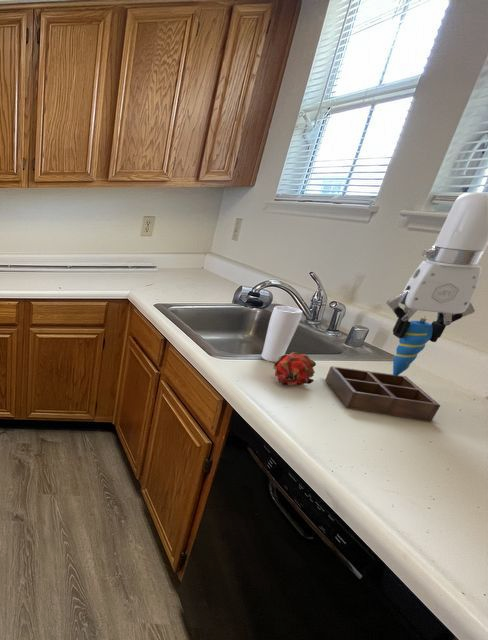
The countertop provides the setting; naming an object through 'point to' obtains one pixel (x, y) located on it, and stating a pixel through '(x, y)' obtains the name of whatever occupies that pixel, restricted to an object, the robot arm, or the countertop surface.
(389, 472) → the countertop surface
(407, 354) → the ornament
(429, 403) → the divided tray
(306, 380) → the dragon fruit
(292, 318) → the drinking glass
